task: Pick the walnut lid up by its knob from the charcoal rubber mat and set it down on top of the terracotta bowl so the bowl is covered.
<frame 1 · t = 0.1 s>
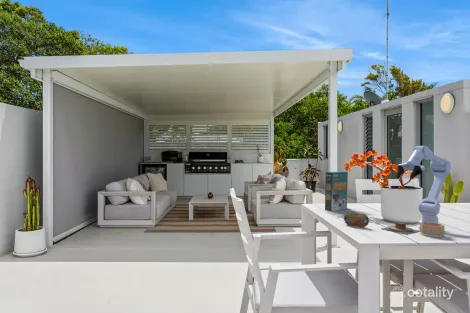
hand: (404, 177, 179), 32 cm above the table, tool tilted 50°, fingers open, 7 cm apart
bowl: (431, 234, 181), on the table
tin: (356, 226, 200), on the table
cake mix box: (336, 209, 262), on the table
lid: (400, 226, 191), on the mat
mat: (400, 230, 191), on the table
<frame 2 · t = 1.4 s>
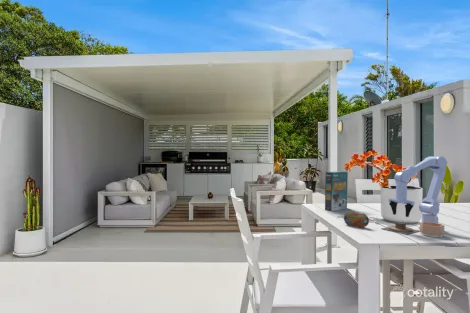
hand: (400, 215, 191), 9 cm above the table, tool pointing down, fingers open, 7 cm apart
nothing on the table moved.
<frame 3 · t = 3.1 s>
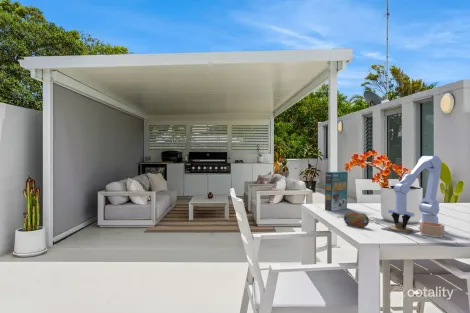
hand: (400, 226, 191), 2 cm above the table, tool pointing down, fingers closed on lid, 4 cm apart
lid: (400, 226, 191), on the mat, touching gripper
everything else where it was.
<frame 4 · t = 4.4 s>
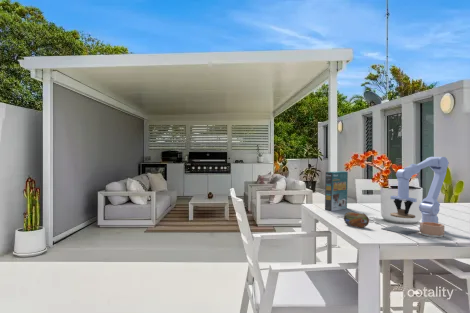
hand: (402, 212, 190), 10 cm above the table, tool pointing down, fingers closed on lid, 4 cm apart
lid: (402, 212, 190), point 10 cm above the table, touching gripper
everything else where it was.
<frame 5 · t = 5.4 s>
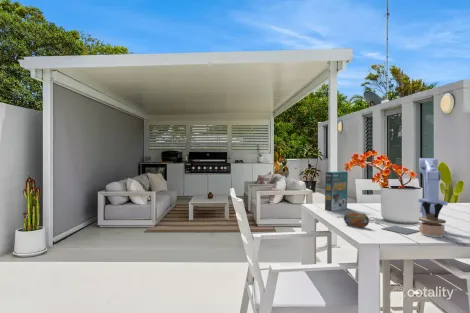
hand: (432, 216, 181), 10 cm above the table, tool pointing down, fingers closed on lid, 4 cm apart
lid: (432, 217, 181), point 10 cm above the table, touching gripper
everything else where it was.
when the fingers open (9 cm above the table, at t = 6.1 s): lid stays where it is, resting on bowl.
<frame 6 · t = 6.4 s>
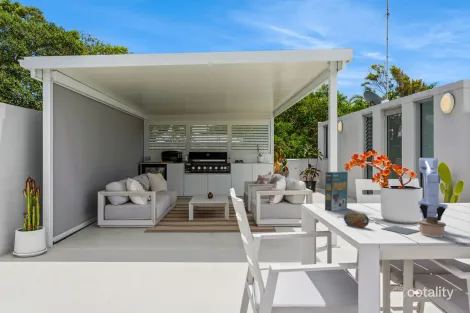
hand: (432, 219, 181), 9 cm above the table, tool pointing down, fingers open, 7 cm apart
lid: (431, 220, 181), on the bowl, point 8 cm above the table
everything else where it was.
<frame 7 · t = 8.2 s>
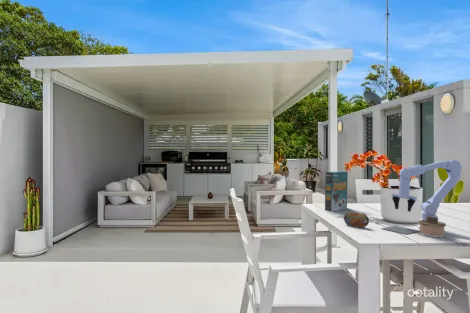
hand: (402, 210, 199), 10 cm above the table, tool pointing down, fingers open, 7 cm apart
nothing on the table moved.
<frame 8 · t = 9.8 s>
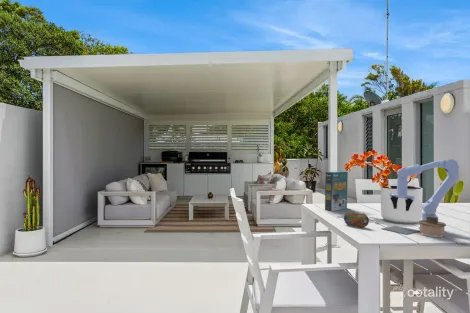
hand: (401, 209, 201), 10 cm above the table, tool pointing down, fingers open, 7 cm apart
nothing on the table moved.
at the end: lid 0.1 cm off-centre on the bowl, point 7.9 cm above the bowl's base; lid tilted 0°; the gripper is holding nothing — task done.
